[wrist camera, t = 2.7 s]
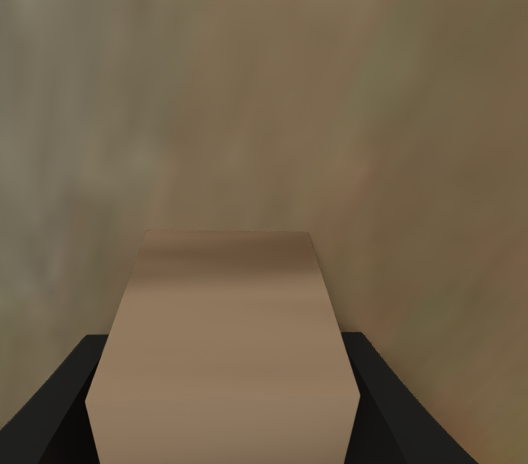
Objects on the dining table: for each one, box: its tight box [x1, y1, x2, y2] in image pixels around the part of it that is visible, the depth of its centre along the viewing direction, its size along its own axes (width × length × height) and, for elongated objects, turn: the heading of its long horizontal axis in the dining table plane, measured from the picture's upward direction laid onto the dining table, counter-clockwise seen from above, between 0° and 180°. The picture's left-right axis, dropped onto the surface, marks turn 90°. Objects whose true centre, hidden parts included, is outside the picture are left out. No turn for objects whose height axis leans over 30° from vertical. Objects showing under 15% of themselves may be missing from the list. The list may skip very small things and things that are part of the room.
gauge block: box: [85, 230, 360, 464], centre depth 10 cm, size 8×4×5 cm, turn 177°
